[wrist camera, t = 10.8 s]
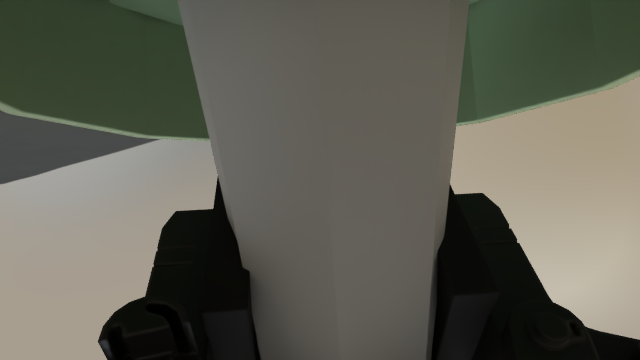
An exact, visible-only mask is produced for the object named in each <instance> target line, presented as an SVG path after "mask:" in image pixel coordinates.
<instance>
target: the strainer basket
mask: <svg viewBox="0 0 640 360" xmlns="http://www.w3.org/2000/svg"><path fill="white" fill-rule="evenodd" d="M639 76H640V0H469V9H468V19H467V28H466V37H465V47H464V56H463V65H462V75H461V84H460V93H459V103H458V112H457V121H456V126H461V125H468V124H474V123H481V122H486V121H490V120H493V119H497V118H501V117H505V116H509V115H513V114H517V113H520V112H524V111H528V110H532V109H536V108H540V107H543V106H547V105H551V104H555V103H558V102H563V101H566V100H570V99H574V98H578V97H582V96H586V95H589V94H593V93H597V92H601V91H605V90H609V89H612V88H614V87H617V86H619V85H621V84H623V83H626V82H628V81H630V80H632V79H635V78H637V77H639ZM0 110H1V111H3V112H6V113H8V114H13V115H18V116H24V117H29V118H35V119H40V120H46V121H51V122H57V123H62V124H68V125H73V126H79V127H84V128H90V129H95V130H101V131H106V132H112V133H117V134H123V135H128V136H134V137H139V138H152V139H171V140H190V141H210V139H209V134H208V130H207V126H206V121H205V117H204V113H203V108H202V104H201V100H200V95H199V91H198V87H197V83H196V78H195V74H194V70H193V65H192V61H191V57H190V52H189V48H188V44H187V39H186V35H185V31H184V26H183V22H182V18H181V13H180V9H179V5H178V0H0Z"/></svg>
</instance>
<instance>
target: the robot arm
mask: <svg viewBox="0 0 640 360" xmlns="http://www.w3.org/2000/svg"><path fill="white" fill-rule="evenodd" d="M157 248H158V251H157V252H156V255H155V260H154V267H152V271H151V276H150V280H149V283H148V287H147V291H146V296H145V297H143V298H140V299H137V300H134V301H131V302H129V303H128V304H126V305H125V306H123V307H122V308H120V309H119V310H117V311H116V312H114V314H113V315H112V316H111V317H110V318H109V320H108V321H107V322H106V323H105V325H104V326H103V328H102V331H101V334H100V337H99V340H98V343H99V345H100V346H101V348H102V350H103V352H104V354H105V356H106V358H107V360H261V359H260V354H259V350H258V346H257V337H256V331H255V326H254V321H253V316H252V306H251V289H250V272H249V270H247V269H245V268H243V266H242V261H241V256H240V251H239V246H238V241H237V239H236V236H235V234H234V232H233V229H232V227H231V224H230V222H229V220H228V216H227V212H226V208H225V203H224V199H223V195H222V190H221V186H220V182H219V178H218V179H217V186H216V193H215V201H214V208H213V209H208V210H189V211H176V212H175V213H174V214H173V215H172V217H171V218H170V219H169V220H168V222H167V223H166V224H165V225H164V227H163V228H162V231H161V235H160V239H159V243H158V247H157ZM431 360H640V340H637V339H633V338H628V337H624V336H619V335H614V334H609V333H605V332H600V331H597V330H594V329H590V328H587V327H585V326H584V324H583V323H582V321H581V320H579V319H578V318H577V317H576V316H575V315H574V314H573V313H572V312H570V311H569V310H567V309H565V308H564V307H562V306H560V305H558V304H556V303H553V302H552V300H551V299H550V298H549V296H548V294H547V293H546V291H545V289H544V287H543V285H542V283H541V282H540V280H539V278H538V276H537V275H536V273H535V271H534V269H533V267H532V265H531V264H530V262H529V260H528V258H527V256H526V255H525V253H524V251H523V249H522V247H521V246H520V244H519V243H517V238H516V236H515V235H514V233H513V231H512V230H511V229H509V224H508V222H507V220H506V219H505V217H504V215H503V213H502V211H501V209H500V208H499V207H498V206H497V205H496V204H494V203H493V202H492V201H491V200H490V199H489V198H488V197H487V196H485V195H484V194H483V193H473V194H454V192H453V190H452V188H451V185H450V186H449V196H448V205H447V214H446V224H445V233H444V238H443V240H442V242H441V245H440V247H439V249H438V276H437V308H436V317H435V326H434V336H433V345H432V355H431Z"/></svg>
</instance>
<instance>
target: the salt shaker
mask: <svg viewBox="0 0 640 360" xmlns="http://www.w3.org/2000/svg"><path fill="white" fill-rule="evenodd" d="M178 5H179V9H180V13H181V18H182V22H183V26H184V31H185V35H186V39H187V44H188V48H189V52H190V57H191V61H192V65H193V70H194V74H195V78H196V83H197V87H198V91H199V95H200V100H201V104H202V108H203V113H204V117H205V121H206V126H207V130H208V134H209V139H210V143H211V147H212V152H213V156H214V160H215V164H216V169H217V173H218V178H219V182H220V186H221V190H222V195H223V199H224V203H225V208H226V212H227V216H228V220H229V222H230V224H231V227H232V229H233V232H234V234H235V236H236V239H237V241H238V246H239V251H240V256H241V261H242V266H243V268H245V269H247V270H249V272H250V289H251V306H252V316H253V321H254V326H255V331H256V337H257V346H258V350H259V354H260V359H261V360H431V355H432V345H433V336H434V326H435V317H436V308H437V276H438V249H439V247H440V245H441V242H442V240H443V238H444V233H445V224H446V214H447V205H448V196H449V186H450V177H451V168H452V158H453V149H454V139H455V130H456V121H457V112H458V103H459V93H460V84H461V75H462V65H463V56H464V47H465V37H466V28H467V19H468V9H469V0H178Z"/></svg>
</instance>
